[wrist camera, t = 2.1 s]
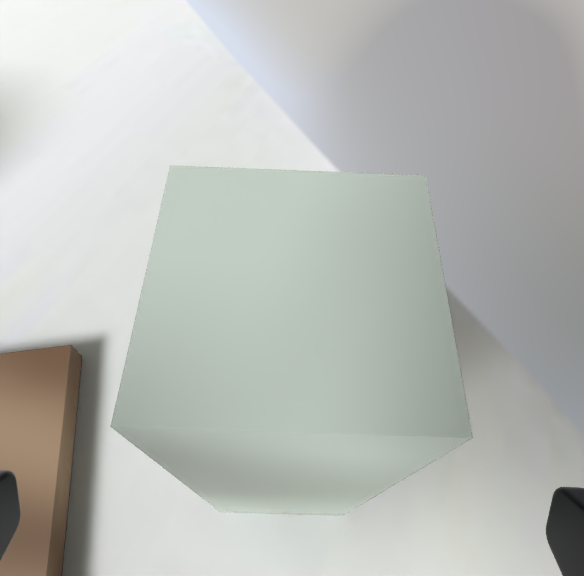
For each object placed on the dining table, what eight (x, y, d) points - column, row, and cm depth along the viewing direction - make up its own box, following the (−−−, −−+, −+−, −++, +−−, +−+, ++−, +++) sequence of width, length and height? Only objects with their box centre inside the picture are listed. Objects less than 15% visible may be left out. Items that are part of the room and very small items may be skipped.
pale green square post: (343, 515, 16) (473, 437, 6) (219, 511, 16) (110, 426, 6) (339, 394, 19) (425, 175, 8) (231, 390, 19) (170, 165, 8)
